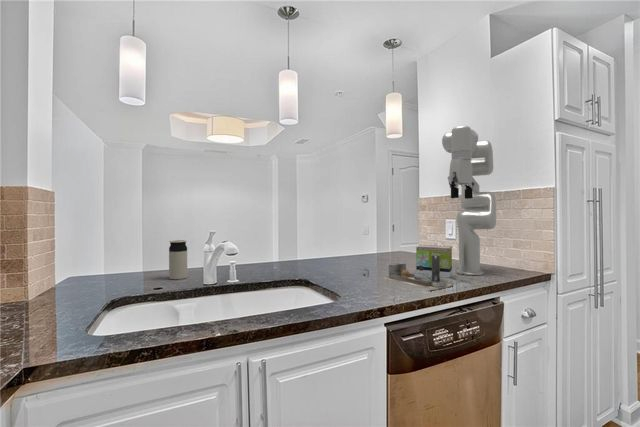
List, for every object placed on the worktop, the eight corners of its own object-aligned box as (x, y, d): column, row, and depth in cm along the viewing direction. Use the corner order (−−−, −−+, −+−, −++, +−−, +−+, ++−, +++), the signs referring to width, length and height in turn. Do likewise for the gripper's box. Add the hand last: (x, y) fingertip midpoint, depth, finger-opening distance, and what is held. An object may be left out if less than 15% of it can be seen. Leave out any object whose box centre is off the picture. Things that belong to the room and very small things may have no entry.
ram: (423, 279, 138) (423, 253, 138) (447, 284, 128) (447, 255, 128) (412, 281, 134) (411, 254, 134) (436, 286, 124) (436, 257, 124)
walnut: (404, 277, 145) (404, 268, 145) (411, 278, 141) (411, 269, 141) (398, 278, 143) (398, 269, 143) (405, 279, 139) (405, 270, 139)
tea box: (415, 277, 151) (415, 246, 151) (419, 273, 160) (419, 244, 160) (450, 280, 144) (449, 247, 144) (452, 276, 153) (452, 245, 153)
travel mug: (190, 276, 157) (190, 240, 157) (181, 280, 149) (181, 241, 149) (175, 276, 158) (174, 240, 158) (165, 279, 150) (165, 241, 150)
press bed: (403, 277, 152) (403, 261, 152) (453, 287, 130) (453, 269, 130) (382, 280, 144) (382, 264, 144) (431, 292, 122) (431, 273, 122)
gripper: (465, 160, 140) (465, 199, 140) (440, 156, 130) (440, 198, 130) (481, 157, 134) (482, 198, 134) (457, 153, 124) (457, 197, 124)
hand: (461, 198), depth 132 cm, fingers open, 9 cm apart
